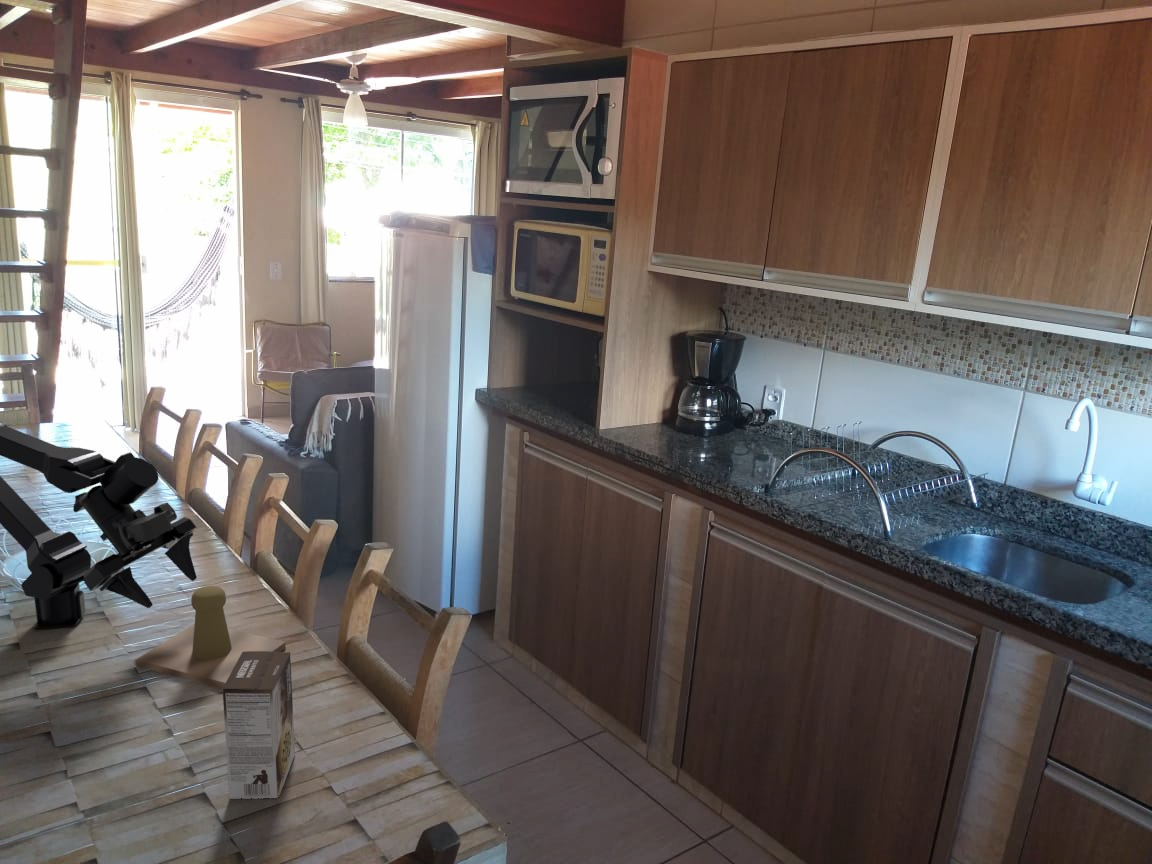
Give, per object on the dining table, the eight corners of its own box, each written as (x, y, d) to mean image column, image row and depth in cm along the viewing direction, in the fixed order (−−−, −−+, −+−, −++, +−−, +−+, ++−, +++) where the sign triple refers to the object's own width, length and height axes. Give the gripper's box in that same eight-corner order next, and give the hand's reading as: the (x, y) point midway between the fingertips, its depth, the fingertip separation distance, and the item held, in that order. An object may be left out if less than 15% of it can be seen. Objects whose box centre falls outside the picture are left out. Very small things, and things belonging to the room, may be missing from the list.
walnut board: (135, 666, 134) (135, 659, 134) (198, 627, 147) (198, 621, 147) (228, 690, 129) (228, 683, 129) (285, 648, 142) (285, 641, 142)
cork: (203, 664, 134) (198, 601, 131) (185, 650, 138) (180, 589, 135) (238, 650, 138) (235, 589, 136) (220, 637, 142) (216, 578, 139)
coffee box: (248, 755, 115) (242, 649, 111) (296, 754, 115) (292, 649, 111) (227, 800, 106) (219, 687, 102) (279, 800, 106) (274, 687, 102)
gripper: (86, 519, 127) (149, 601, 127) (183, 474, 143) (238, 547, 144) (57, 550, 132) (117, 629, 133) (153, 504, 148) (207, 574, 149)
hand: (173, 592), depth 139 cm, fingers open, 9 cm apart
